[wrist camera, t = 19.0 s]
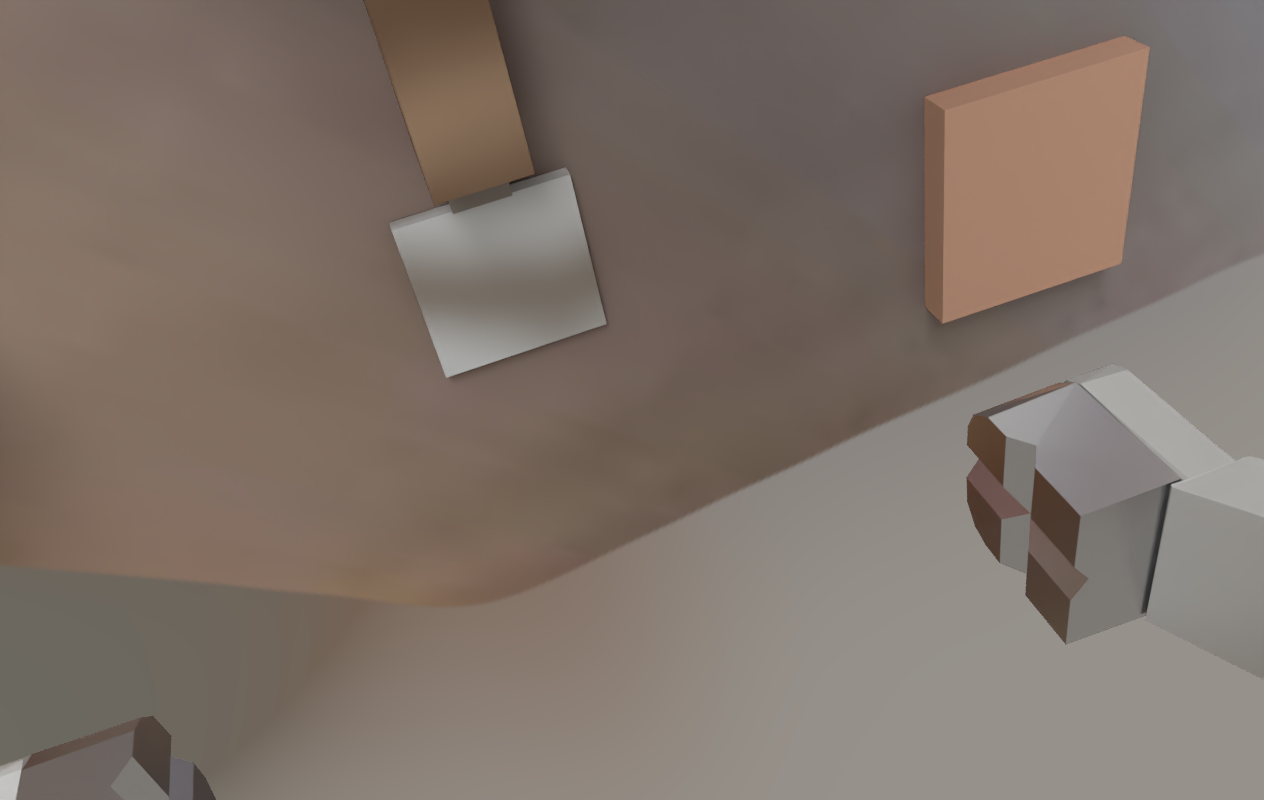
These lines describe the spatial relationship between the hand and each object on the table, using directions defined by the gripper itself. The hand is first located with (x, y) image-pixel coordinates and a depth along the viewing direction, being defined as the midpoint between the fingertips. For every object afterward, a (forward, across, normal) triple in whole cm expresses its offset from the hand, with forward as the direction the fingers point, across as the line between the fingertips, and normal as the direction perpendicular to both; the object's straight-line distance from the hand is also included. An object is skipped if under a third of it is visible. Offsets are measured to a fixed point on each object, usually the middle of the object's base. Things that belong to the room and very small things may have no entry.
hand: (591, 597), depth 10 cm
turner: (+25, -1, +5) cm, 26 cm away
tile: (+24, -21, +14) cm, 35 cm away
